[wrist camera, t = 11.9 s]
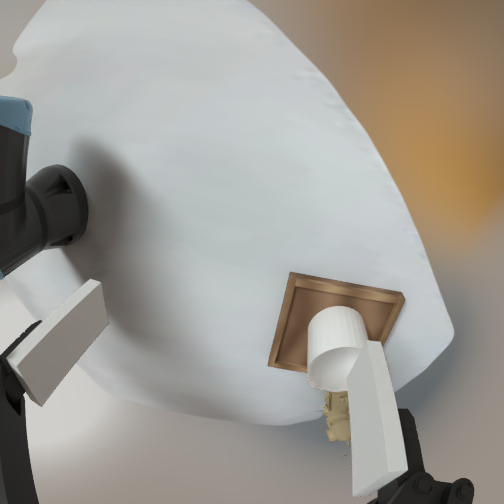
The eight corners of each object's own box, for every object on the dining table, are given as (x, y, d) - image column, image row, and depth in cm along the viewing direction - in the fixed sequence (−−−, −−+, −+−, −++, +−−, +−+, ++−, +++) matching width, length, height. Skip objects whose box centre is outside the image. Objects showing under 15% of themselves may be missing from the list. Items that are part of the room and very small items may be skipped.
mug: (337, 293, 40) (344, 335, 31) (375, 325, 41) (387, 367, 32) (283, 340, 45) (278, 383, 36) (322, 365, 46) (323, 407, 37)
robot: (310, 383, 50) (307, 449, 36) (349, 370, 47) (355, 437, 34) (330, 409, 53) (330, 468, 39) (365, 397, 50) (372, 457, 36)
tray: (268, 358, 48) (267, 366, 47) (289, 271, 41) (289, 278, 39) (362, 371, 47) (363, 379, 45) (401, 292, 39) (405, 299, 37)
